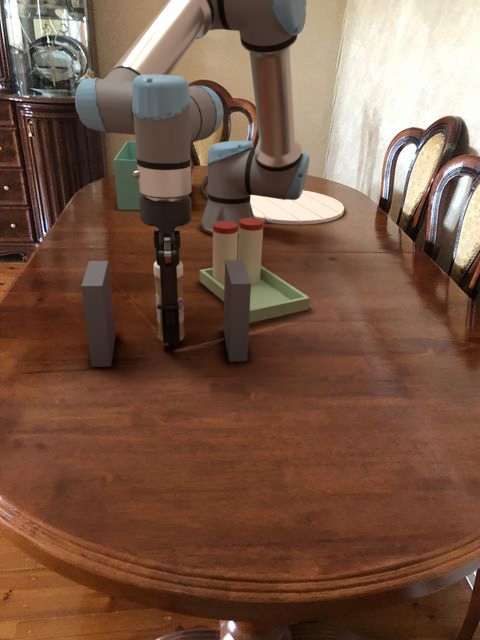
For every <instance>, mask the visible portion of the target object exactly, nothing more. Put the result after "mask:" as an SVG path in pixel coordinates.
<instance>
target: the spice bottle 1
mask: <svg viewBox="0 0 480 640" xmlns="http://www.w3.org/2000/svg"><path fill="white" fill-rule="evenodd" d="M238 243H239V237H238V224H237V223H235V222H231V221H218V222H215V223H213V235H212V268H213V278H214V279H215V280H217V281H218V282H219V283H220V284H222V285H223V286H224V284H225V260H238Z"/></svg>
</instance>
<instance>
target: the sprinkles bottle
mask: <svg viewBox="0 0 480 640" xmlns="http://www.w3.org/2000/svg"><path fill="white" fill-rule="evenodd" d="M164 260H165V259H164ZM153 275H154V279H155V281H154V282H155V305H156V321H157V338H158V340H159V341H161V342H163V331H162V312H161V309H157V304H162V299H161V280H160V266H159V265H157V260H155V261H154V263H153ZM183 275H184V264H183V262H182V261H181V260H179V265H177V292H178V303H179V332H180V342H181V341H182V340H184V339H185V323H184V322H185V308H184V294H183V293H184V290H183V286H184V285H183Z"/></svg>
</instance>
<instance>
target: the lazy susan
mask: <svg viewBox="0 0 480 640" xmlns="http://www.w3.org/2000/svg"><path fill="white" fill-rule="evenodd" d="M250 203H251V207H252V211H253V215H255V218H256V219H260V220H262V221H263V223H271V224H278V225H294V226H295V225H297V226H298V225H299V226H300V225H317V224H323V223H328V222H332V221H335V220H337V219H339V218H341V217H343V215H344V211H345V206H344V205H343V203H342V202H340V201H339V200H337V199H336V198H335V197H332V196H328V195H326V194H322V193H318V192H315V191H309V190H304V189H303V191H302V194H301V196H300V197H299V198H298V199H297V200H283V199H276V198H269V197H263V196H256V195H251V198H250Z"/></svg>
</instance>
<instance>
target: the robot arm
mask: <svg viewBox="0 0 480 640" xmlns="http://www.w3.org/2000/svg"><path fill="white" fill-rule="evenodd" d="M162 3H163V4H162V7H161V8H160V9H159V11H158V12H157V13H156V14H155V15H154V16H153V18H152V19H151V20H150V22H149V23H148V24H147V25H146V27H145V28H144V29H143V30H142V32H141V33H140V34H139V36H138V37H137V38H136V39H135V40H134V41H133V43H132V44H131V45H130V47H128V49H127V50H126V51H125V52H124V54H123V55H122V56H121V58H120V59H119V61H117V62H116V64H115V65H114V66H113V67H112V68H111V70H110V72H108V74H107V75H106V77H104V78H99V77H94V78H85V79H83V80H82V81H80V83H79V84H78V85H77V88H76V91H75V98H74V103H75V104H74V105H75V109H76V113H77V114H78V118H79V120H80V122H81V123H82V124H83V125H84V126H85V127H86V128H88V129H90V130H94V131H100V132H104V133H107V134H120V135H121V134H122V135H132V136H134V141H136V153H137V168H138V170H137V171H134V172H133V176H134V177H136V178H139V180H138V184H139V192H140V193H141V194H142V195H141V197H140V198H139V204H140V210H139V216H140V217H139V219H140V220H141V222H142V223H143V224H145V225H147V226H150V227H155V228H157V229H158V230H155V229H154V230H153V247H154V249H155V259H156V260H155V261H157V265H159V266H160V280H161V299H162V304H157V308H156V310H157V309H161V312H162V331H163V341H162V344H179V343H181V341H180V332H179V303H178V292H177V265H179V261H180V248H181V246H182V245H181V244H182V243H181V233H180V232H181V231H180V230H177V229H176V228H178V227H183V226H186V225H188V224H189V223H190V222H191V221H192V217H193V216H192V198H191V197H190V195H191V193H192V164H191V144H193V143H195V142H199V141H203V140H206V139H207V138H210V137H211V136H212V135H213V134H215V133H216V132H217V131H218V130H219V129H220V128H221V125H222V123H223V120H224V105H223V103H222V99H221V98H220V96H219V95H218V93H216V92H215V90H213V89H212V88H210V87H208V86H205V85H196V84H191V85H189V83H188V81H187V79H186V78H185V77H184V76H181V75H173V72H174V71H175V69H176V68H177V66H178V65H179V64H180V62H181V61H182V59H184V57H185V55H186V54H187V52H188V51H189V50H190V48H191V47H192V45H193V44H194V43H195V41H196V40H200V39H201V38H203V37H205V36H206V35H207V34H208V32H209V31H213V30H214V31H215V30H216V31H217V30H226V31H236V32H239V39H240V44H241V46H242V47H243V48H244V49H245V50H246V51H247V52H249V60H250V68H251V69H250V70H251V78H252V87H253V95H254V103H255V104H254V106H255V113H256V114H255V115H256V122H257V132H258V139H259V142H258V144H257V145H256V146H255V148H254V143H253V141H251V140H229V141H221V142H216V143H213V144H212V145H210V146H209V148H208V152H207V153H208V154H207V162H206V164H207V175H205V177H204V181H203V183H202V185H201V189H200V190H201V191H200V192H201V195H202V196H203V197H204V198H205V200H207V202H206V205H205V209H204V211H203V215H202V217H201V222H200V229H201V231H202V232H203V233H205V234H207V235H210V236H213V223H215V222H218V221H231V222H235V223H237V224H238V238H239V220H240V219H243V218H255V215H253V211H252V207H251V203H250V198H251V195H256V196H263V197H269V198H276V199H283V200H297V199H298V198H299V197H300V196H301V194H302V191H303V190H304V188H305V184H306V182H307V177H308V173H309V167H310V156H309V154H307V153H305V152H302V151H303V150H302V146H301V143H300V142H299V141H298V139H296V136H295V133H296V132H295V114H294V113H295V112H294V110H295V109H294V91H293V69H292V67H293V66H292V47H293V45H294V44H295V43H296V42H297V40H298V35H299V34H301V33H302V31H304V28H305V24H306V19H307V0H163V2H162ZM206 184H207V194H206V193H205V186H206ZM164 259H165V260H164Z"/></svg>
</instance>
